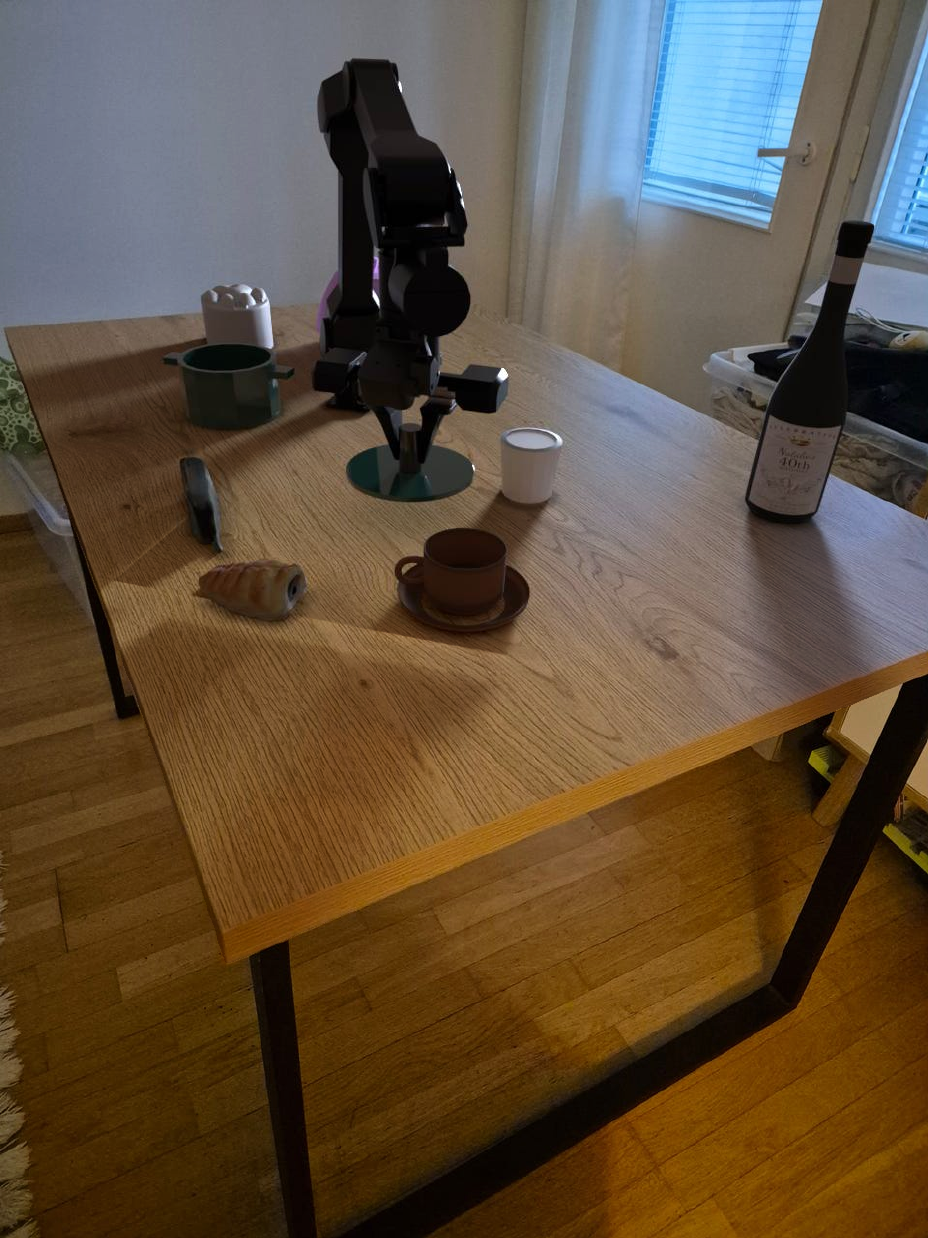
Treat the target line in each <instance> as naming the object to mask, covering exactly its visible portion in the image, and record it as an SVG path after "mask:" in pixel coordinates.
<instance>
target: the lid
mask: <svg viewBox="0 0 928 1238" xmlns="http://www.w3.org/2000/svg"><path fill="white" fill-rule="evenodd" d="M421 426H422V425H420V424H419V423H415V422H406V423H405V422H404V423H402V425H400V426H399V428H398V430H399V460H395V459H394V457H393V454H392V452H391V449H390V447H389V444H388V443H387V444H381V445H377V446H374V447H370V448H367V449H365V450H364V449H363V451H362V450H361V451H360V452H359V453H357V454H355V455H353V456H352V458H350V459H349V460H348V462H347V464H346V466H345V477H346V480H347V482H348V483H349V485H350V486H351V487H352V488H354V489H355V490H356V491H358V492H360V493H362V494H364V495H366V496H369V497H371V498H374V499H377V500H378V499H379V500H382V501H383V500H384V501H389V502H396V503H427V502H434V501H435V502H436V501H440V500H444V499H447V498H451V497H454V496H456V495H458V494H460V493H462V492H464V491H465V490H467V489H468V488H469V487H470V486H471V484H473V481H474V480H475V466H474V464H473V462H472V461H471V460H470V459H469V458H468V457H467V456H465V455H464V454H462V453H461V452H458V451H456V450H454V449H451V448H448V447H445V446H441V445H436V444H432V447H431V449H430V452H429V455H428V457H427V460H426V461H425V463H424V464H420V458H419V447H420V437H421Z"/></svg>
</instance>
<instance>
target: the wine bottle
mask: <svg viewBox="0 0 928 1238" xmlns="http://www.w3.org/2000/svg"><path fill="white" fill-rule="evenodd" d="M874 232H875V224H874V223H872V222H869V221H864V220H856V219H854V220H853V219H852V220H851V219H850V220H843V221H841V223H840V225H839V227H838V233H837V237H836V241H837V242H836V246H835V249H834V250H835V251H834V254H833V258H832V263H831V267H830V270H829V274H828V278H827V281H826V286H825V289H824V293H823V296H822V300H821V303H820V308H819V310H818V315H817V318H816V319H815V322H814V324H813V327H812V329H811V331H810V333H809V335H808V337H807V338H806V340H805V342H804V343H803V345H802V346H801V347H800V349H799V350H798V352H797V354H795V356H794V358H793V359H792V361H791V362H790V363H789V364H788V366H787V367H786V369H785V370H784V372H783V373H782V374H781V376H780V378H779V380H778V381H777V383H776V385H775V387H774V389H773V391H772V393H771V396H770V398H769V400H768V403H767V405H766V410H765V414H764V418H763V421H762V424H761V425H762V426H761V429H760V434H759V438H758V442H757V446H756V451H755V454H754V458H753V462H752V466H751V470H750V473H749V478H748V482H747V485H746V491H745V496H744V501H745V504H746V505H747V507H748V509H749V510H750V511H752V512H753V513H754V514H755V515H757V516H759V517H761V518H763V519H766V520H769V521H773V522H776V523H784V524H797V523H798V524H799V523H802V522H806V521H809V520H811V519H812V518H813V517H814V516H815V515H817V513H818V511H819V509H820V506H821V502H822V499H823V496H824V493H825V489H826V487H827V483H828V480H829V478H830V473H831V470H832V467H833V463H834V460H835V457H836V454H837V450H838V447H839V444H840V440H841V437H842V434H843V431H844V427H845V424H846V420H847V412H848V404H849V403H848V402H849V383H848V374H847V366H846V357H845V355H846V354H845V330H846V325H847V319H848V314H849V311H850V307H851V304H852V302H853V301H852V300H853V297H854V294H855V290H856V287H857V284H858V280H859V276H860V273H861V270H862V266H863V263H864V261H865V260H864V259H865V256H866V253H867V249H868V248H869V245H870V244H871V242H872V239H873V236H874Z"/></svg>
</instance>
